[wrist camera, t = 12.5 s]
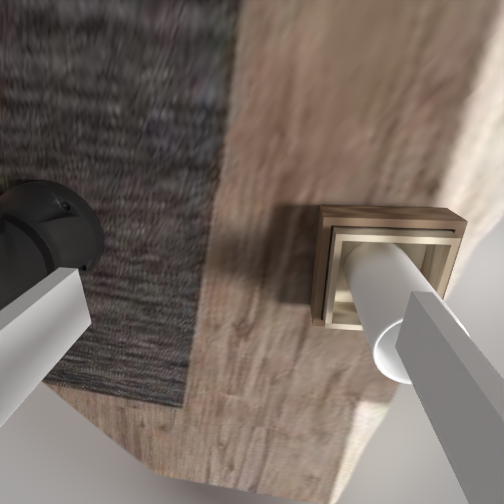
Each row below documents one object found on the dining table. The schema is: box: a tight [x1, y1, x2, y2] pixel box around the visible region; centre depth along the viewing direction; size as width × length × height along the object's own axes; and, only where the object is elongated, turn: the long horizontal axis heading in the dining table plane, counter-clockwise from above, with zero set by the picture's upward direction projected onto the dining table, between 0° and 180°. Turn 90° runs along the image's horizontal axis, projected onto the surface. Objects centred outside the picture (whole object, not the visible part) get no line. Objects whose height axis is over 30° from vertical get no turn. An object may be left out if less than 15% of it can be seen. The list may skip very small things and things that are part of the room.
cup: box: [344, 242, 470, 384], centre depth 34 cm, size 8×8×16 cm
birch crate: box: [322, 225, 461, 330], centre depth 40 cm, size 13×13×6 cm
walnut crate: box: [310, 205, 468, 326], centre depth 41 cm, size 16×16×5 cm
